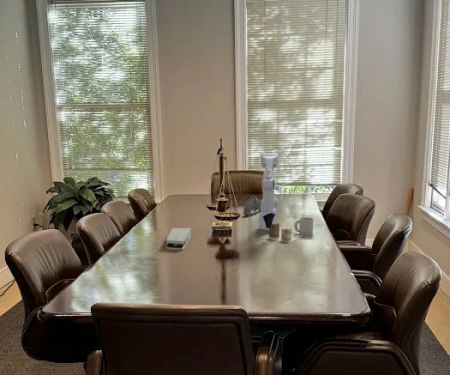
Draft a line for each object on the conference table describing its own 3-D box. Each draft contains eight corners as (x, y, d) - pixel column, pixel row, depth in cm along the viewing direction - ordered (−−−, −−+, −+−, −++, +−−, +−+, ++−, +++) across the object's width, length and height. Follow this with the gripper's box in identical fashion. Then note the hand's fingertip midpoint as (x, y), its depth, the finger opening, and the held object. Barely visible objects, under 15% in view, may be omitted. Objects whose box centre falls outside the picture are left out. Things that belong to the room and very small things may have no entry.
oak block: (281, 240, 222) (281, 228, 221) (284, 238, 225) (284, 227, 225) (288, 240, 220) (288, 229, 219) (291, 239, 224) (291, 227, 223)
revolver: (262, 223, 298) (266, 203, 302) (248, 214, 280) (253, 192, 284) (255, 222, 300) (260, 202, 304) (241, 213, 283) (246, 192, 286)
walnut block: (268, 237, 228) (268, 223, 227) (272, 235, 231) (272, 222, 230) (275, 238, 226) (275, 224, 225) (279, 236, 229) (279, 223, 228)
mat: (259, 238, 228) (259, 237, 228) (274, 232, 241) (274, 231, 241) (289, 243, 217) (289, 242, 217) (303, 236, 230) (303, 235, 230)
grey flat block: (183, 251, 208) (183, 241, 207) (161, 251, 209) (161, 241, 208) (191, 237, 234) (191, 228, 233) (172, 237, 235) (171, 228, 234)
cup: (312, 236, 230) (312, 220, 229) (293, 235, 232) (294, 219, 231) (312, 233, 237) (313, 217, 236) (294, 232, 239) (294, 216, 238)
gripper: (267, 205, 213) (267, 231, 215) (282, 200, 224) (282, 226, 226) (255, 203, 217) (255, 229, 219) (270, 199, 229) (270, 224, 231)
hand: (268, 227), depth 223 cm, fingers closed
